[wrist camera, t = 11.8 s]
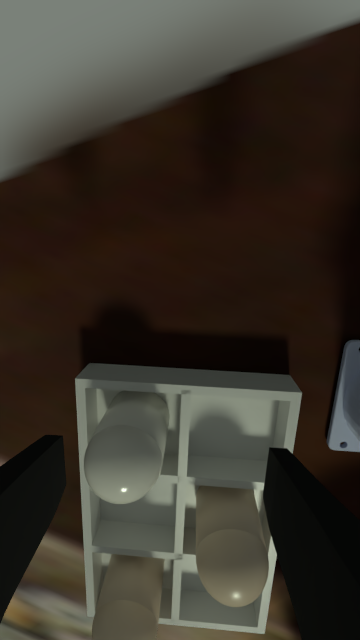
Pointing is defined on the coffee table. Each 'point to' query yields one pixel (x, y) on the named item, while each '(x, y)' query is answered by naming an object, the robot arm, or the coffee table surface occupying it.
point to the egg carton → (187, 503)
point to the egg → (128, 447)
